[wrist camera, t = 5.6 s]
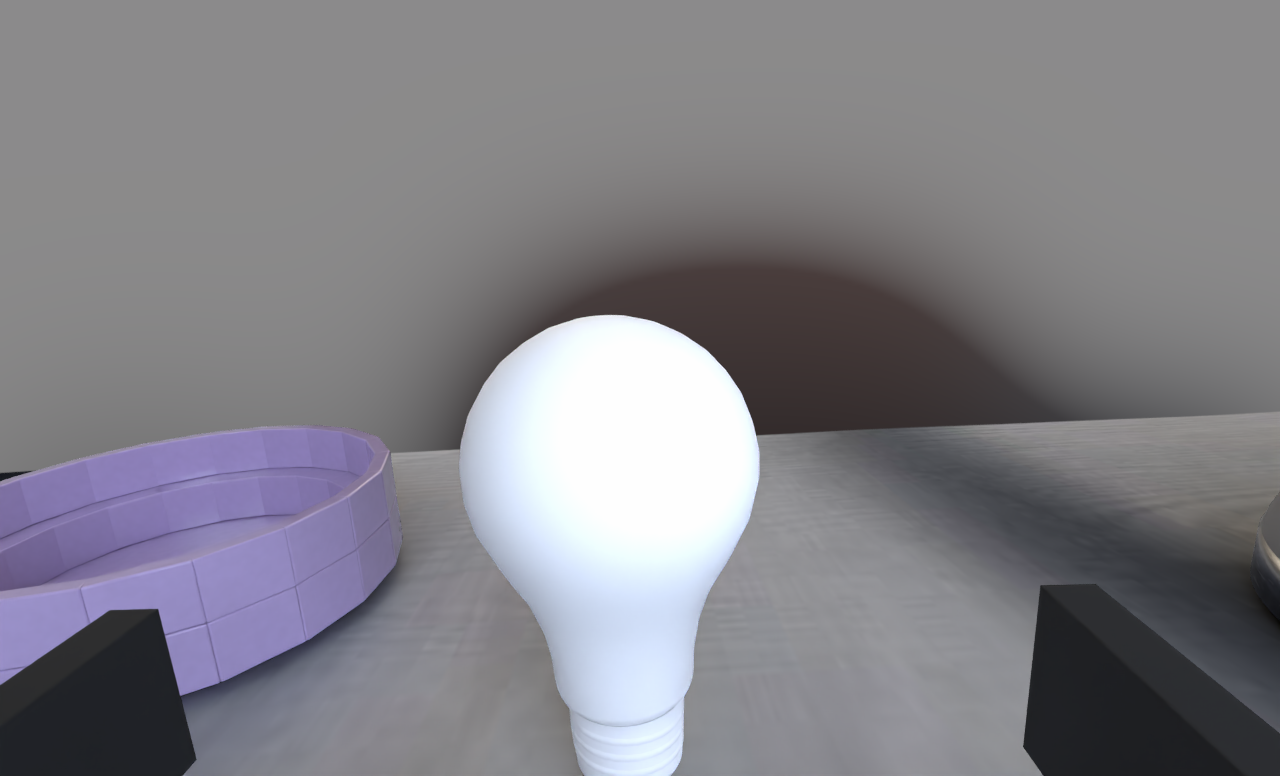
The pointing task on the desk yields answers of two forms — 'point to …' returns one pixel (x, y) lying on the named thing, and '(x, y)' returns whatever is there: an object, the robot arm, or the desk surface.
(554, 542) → the lightbulb
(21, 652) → the bowl
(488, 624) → the desk surface
